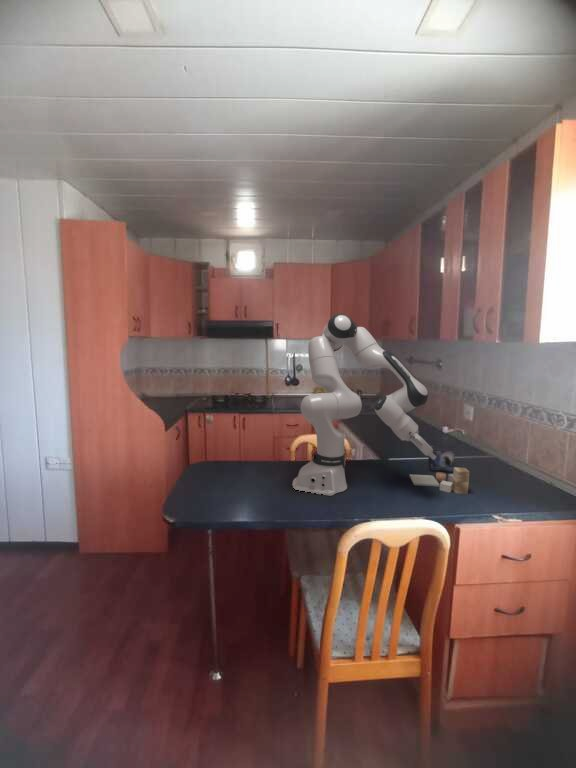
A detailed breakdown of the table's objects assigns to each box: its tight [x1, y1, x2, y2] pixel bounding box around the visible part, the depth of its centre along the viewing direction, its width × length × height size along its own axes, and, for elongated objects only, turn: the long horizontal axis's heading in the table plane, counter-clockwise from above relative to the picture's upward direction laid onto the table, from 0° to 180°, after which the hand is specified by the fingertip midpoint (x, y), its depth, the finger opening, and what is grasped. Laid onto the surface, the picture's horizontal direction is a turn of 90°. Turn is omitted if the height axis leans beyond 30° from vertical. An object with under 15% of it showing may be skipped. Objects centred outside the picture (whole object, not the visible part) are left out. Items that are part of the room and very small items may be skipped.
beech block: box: [452, 466, 470, 495], centre depth 146 cm, size 4×4×9 cm
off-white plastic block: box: [439, 480, 454, 493], centre depth 148 cm, size 4×4×3 cm
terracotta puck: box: [435, 471, 447, 483], centre depth 158 cm, size 4×4×3 cm
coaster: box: [409, 473, 440, 487], centre depth 157 cm, size 10×10×1 cm
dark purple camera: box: [427, 445, 456, 474], centre depth 169 cm, size 11×6×10 cm, turn 76°
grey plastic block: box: [447, 473, 453, 483], centre depth 156 cm, size 4×4×3 cm
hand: (430, 454), depth 146 cm, fingers open, 8 cm apart
